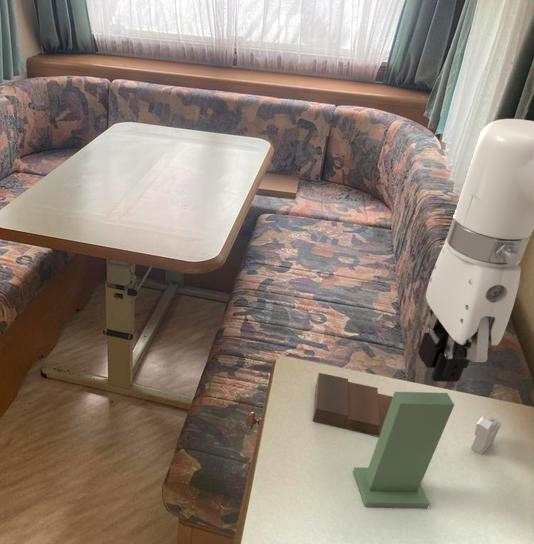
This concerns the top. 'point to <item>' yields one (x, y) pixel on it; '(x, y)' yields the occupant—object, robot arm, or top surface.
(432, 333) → the clip
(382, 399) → the brown stepped wooden block
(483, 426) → the white blocky piece
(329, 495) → the top surface
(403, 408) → the stand
